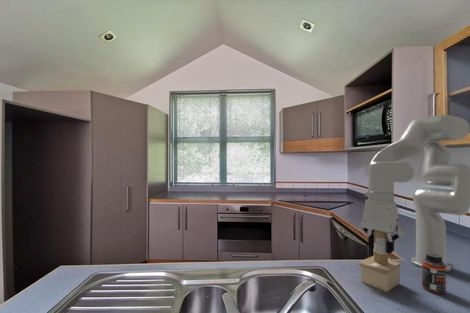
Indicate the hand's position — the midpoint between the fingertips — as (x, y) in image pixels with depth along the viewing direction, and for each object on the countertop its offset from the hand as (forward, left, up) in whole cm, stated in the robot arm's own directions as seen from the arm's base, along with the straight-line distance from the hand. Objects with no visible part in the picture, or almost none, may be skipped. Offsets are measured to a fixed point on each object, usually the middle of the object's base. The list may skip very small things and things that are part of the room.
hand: (380, 249), depth 83 cm
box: (0, 0, -11) cm, 11 cm away
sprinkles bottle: (0, 0, -4) cm, 4 cm away
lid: (+1, 0, -5) cm, 6 cm away
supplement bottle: (-10, +12, -11) cm, 19 cm away
